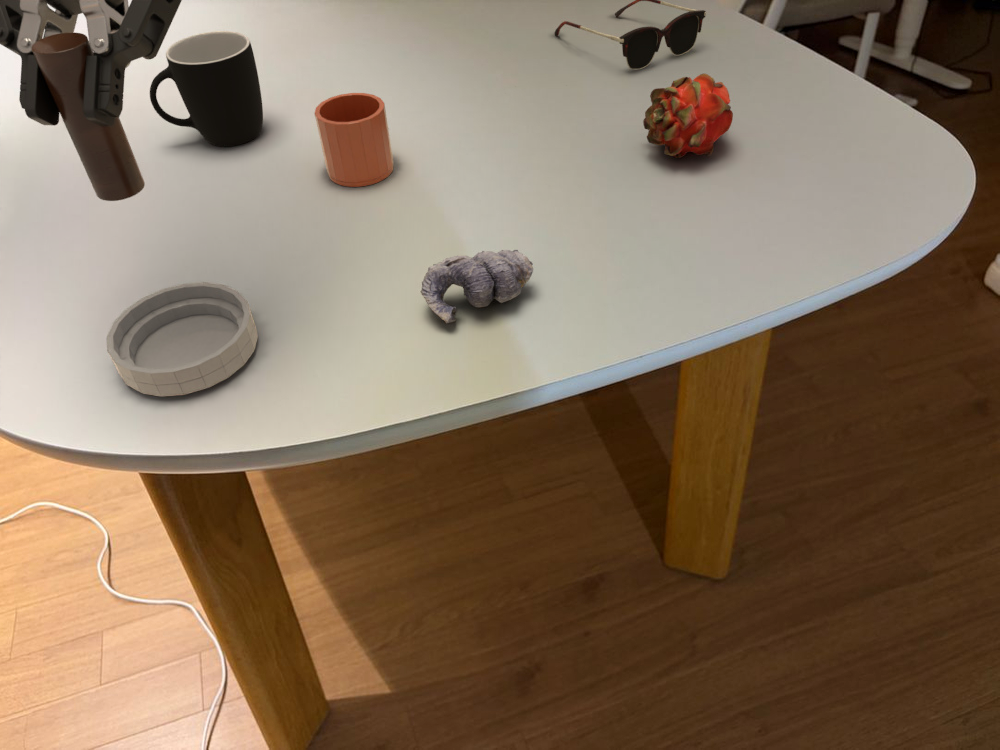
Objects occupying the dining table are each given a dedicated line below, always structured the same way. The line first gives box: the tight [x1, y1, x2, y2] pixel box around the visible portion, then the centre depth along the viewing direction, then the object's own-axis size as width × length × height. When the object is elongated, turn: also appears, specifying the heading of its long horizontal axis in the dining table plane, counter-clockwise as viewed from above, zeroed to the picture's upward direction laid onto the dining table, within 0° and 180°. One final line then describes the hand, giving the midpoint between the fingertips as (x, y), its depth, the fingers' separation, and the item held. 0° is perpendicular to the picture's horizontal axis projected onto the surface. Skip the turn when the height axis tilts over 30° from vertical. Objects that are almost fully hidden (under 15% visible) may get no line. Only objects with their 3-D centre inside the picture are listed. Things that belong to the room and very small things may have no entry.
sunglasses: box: [554, 0, 707, 70], centre depth 106 cm, size 14×16×5 cm
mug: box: [149, 30, 264, 147], centre depth 89 cm, size 12×9×10 cm
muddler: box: [31, 32, 146, 202], centre depth 52 cm, size 3×3×10 cm
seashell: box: [420, 249, 534, 325], centre depth 67 cm, size 5×5×10 cm
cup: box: [314, 92, 394, 188], centre depth 83 cm, size 7×7×7 cm
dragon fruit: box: [642, 73, 734, 159], centre depth 84 cm, size 8×8×12 cm
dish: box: [106, 281, 259, 397], centre depth 64 cm, size 11×11×3 cm
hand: (70, 120), depth 49 cm, fingers closed on muddler, 3 cm apart
